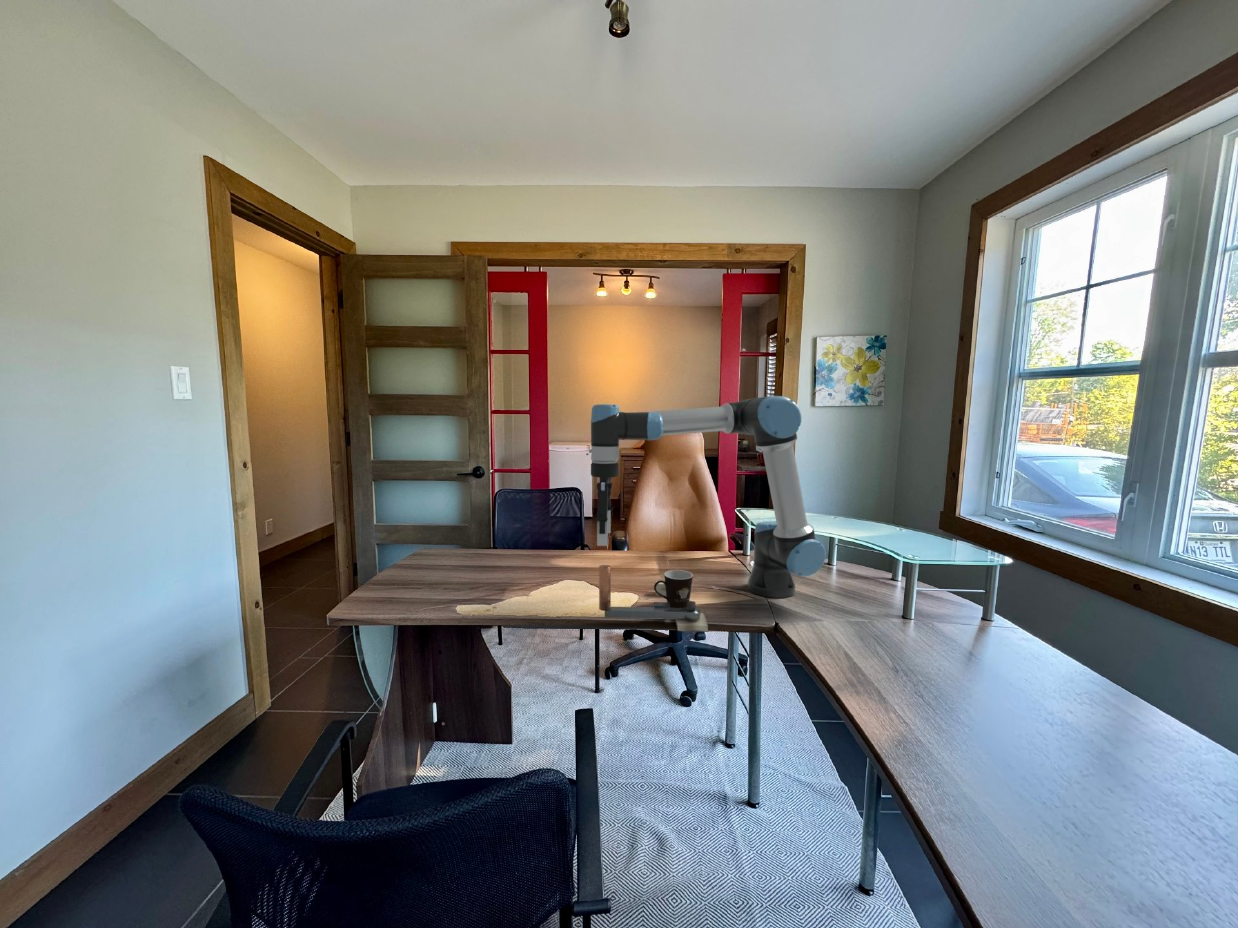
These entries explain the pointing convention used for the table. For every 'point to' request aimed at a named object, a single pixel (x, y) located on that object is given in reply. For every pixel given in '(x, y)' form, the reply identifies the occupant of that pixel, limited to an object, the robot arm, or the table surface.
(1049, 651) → the table surface
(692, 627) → the pivot pedestal
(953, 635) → the table surface
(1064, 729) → the table surface
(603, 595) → the lever
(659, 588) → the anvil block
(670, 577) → the coffee mug
